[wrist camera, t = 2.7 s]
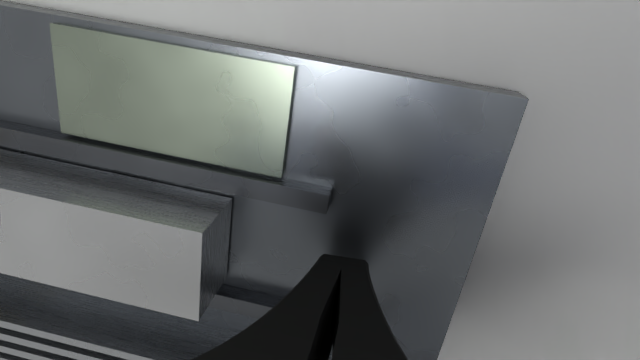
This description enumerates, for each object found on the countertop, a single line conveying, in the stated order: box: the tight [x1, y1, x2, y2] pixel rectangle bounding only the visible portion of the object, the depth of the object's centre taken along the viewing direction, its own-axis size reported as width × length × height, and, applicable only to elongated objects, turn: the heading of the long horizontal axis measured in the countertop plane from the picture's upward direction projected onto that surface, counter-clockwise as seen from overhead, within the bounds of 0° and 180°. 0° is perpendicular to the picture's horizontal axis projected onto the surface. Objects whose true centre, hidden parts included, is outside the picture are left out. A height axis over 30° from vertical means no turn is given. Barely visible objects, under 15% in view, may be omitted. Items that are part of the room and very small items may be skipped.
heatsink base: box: [0, 0, 529, 360], centre depth 13 cm, size 25×12×5 cm, turn 81°
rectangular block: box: [0, 149, 232, 321], centre depth 13 cm, size 10×3×2 cm, turn 81°
